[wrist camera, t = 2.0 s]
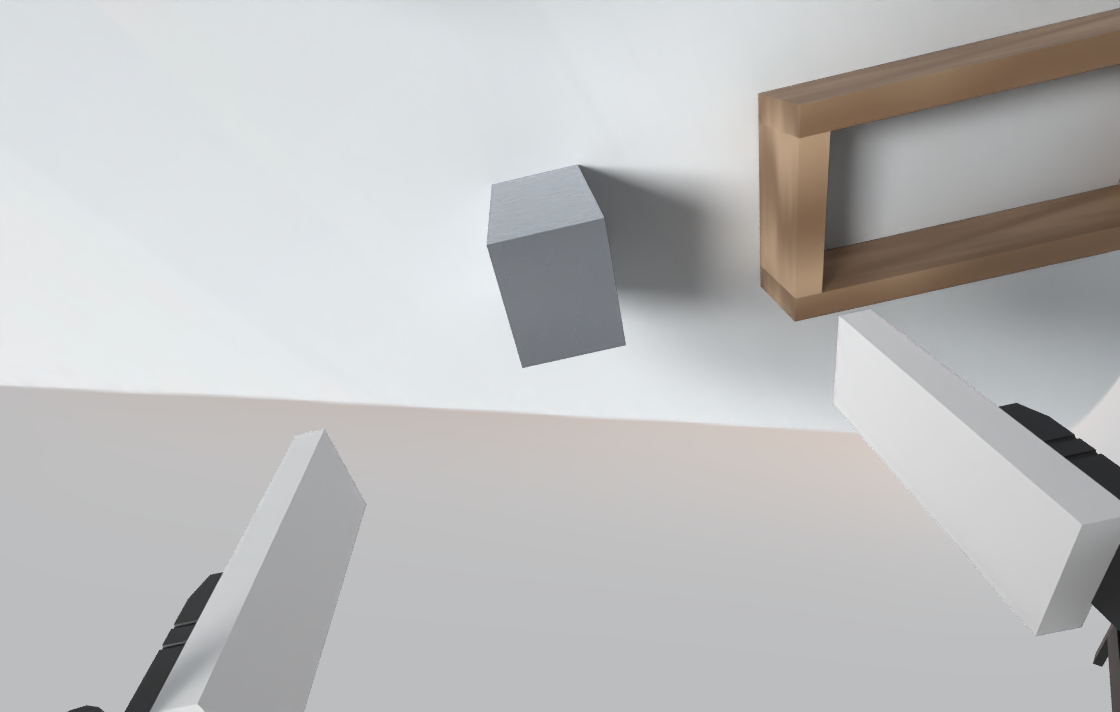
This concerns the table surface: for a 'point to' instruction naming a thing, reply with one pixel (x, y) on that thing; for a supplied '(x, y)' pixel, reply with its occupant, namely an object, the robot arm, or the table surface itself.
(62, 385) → the table surface
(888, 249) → the rectangular wooden frame
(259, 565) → the robot arm
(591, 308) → the gray concrete brick
